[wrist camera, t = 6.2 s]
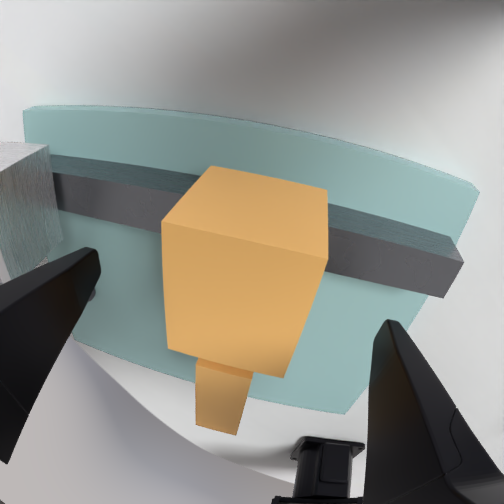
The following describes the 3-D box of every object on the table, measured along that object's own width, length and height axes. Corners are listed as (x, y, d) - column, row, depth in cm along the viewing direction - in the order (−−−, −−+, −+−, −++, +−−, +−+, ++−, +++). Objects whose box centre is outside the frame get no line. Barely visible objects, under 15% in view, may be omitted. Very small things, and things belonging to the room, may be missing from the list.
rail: (433, 270, 14) (443, 298, 12) (36, 183, 16) (13, 199, 14) (450, 236, 13) (464, 262, 11) (31, 152, 14) (7, 165, 13)
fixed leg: (97, 304, 19) (53, 368, 15) (53, 287, 19) (7, 343, 15) (71, 133, 13) (-19, 183, 8) (20, 131, 13) (-60, 174, 8)
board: (344, 404, 23) (344, 417, 22) (80, 331, 25) (73, 341, 24) (471, 183, 12) (482, 194, 11) (34, 106, 14) (19, 112, 13)
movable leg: (273, 354, 18) (256, 440, 14) (207, 338, 19) (176, 419, 14) (326, 173, 12) (328, 259, 7) (223, 151, 12) (160, 221, 8)
